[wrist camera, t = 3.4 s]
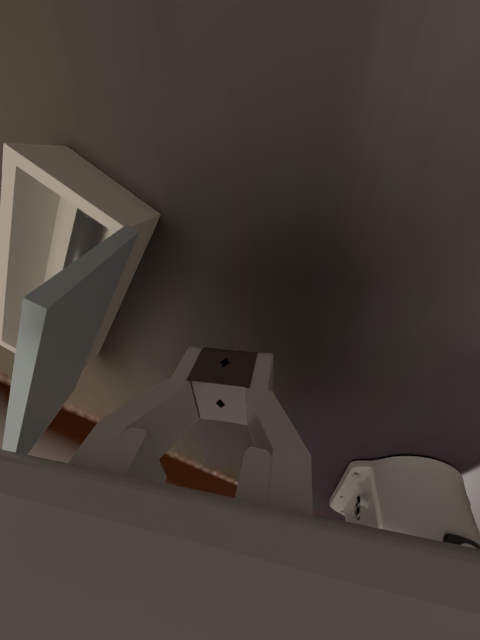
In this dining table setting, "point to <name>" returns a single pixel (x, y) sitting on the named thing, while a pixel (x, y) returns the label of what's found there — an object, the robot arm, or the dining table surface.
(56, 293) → the panel
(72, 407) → the dining table surface
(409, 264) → the dining table surface
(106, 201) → the white open box
